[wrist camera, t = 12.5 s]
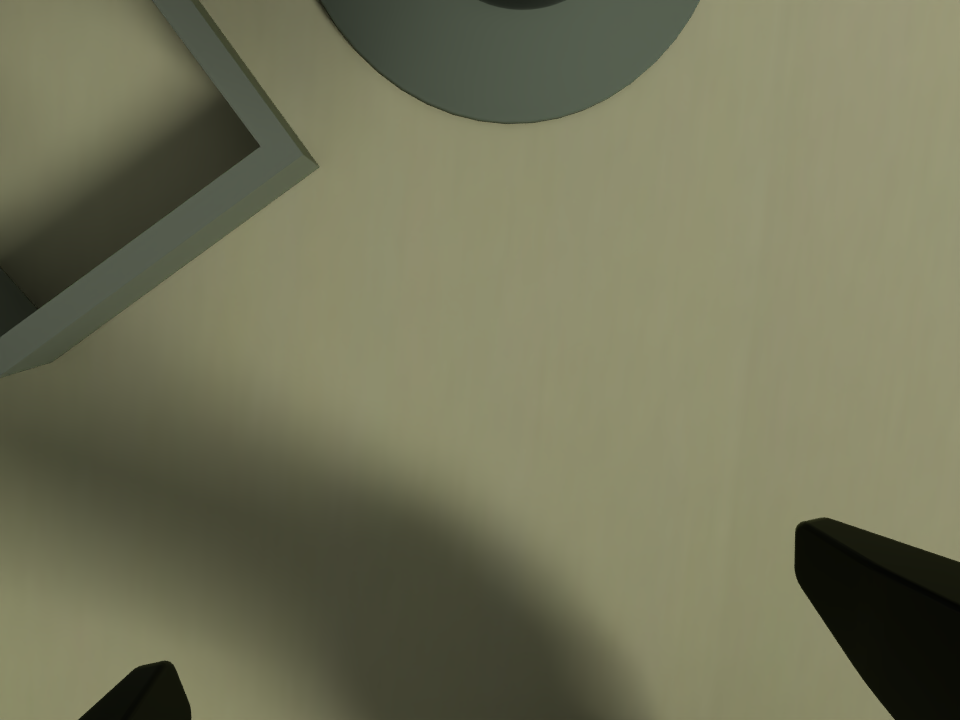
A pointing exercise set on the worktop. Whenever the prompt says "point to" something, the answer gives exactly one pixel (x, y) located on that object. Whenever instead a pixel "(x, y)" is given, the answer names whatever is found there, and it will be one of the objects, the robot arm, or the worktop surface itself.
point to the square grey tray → (179, 235)
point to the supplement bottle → (522, 4)
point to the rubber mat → (510, 51)
